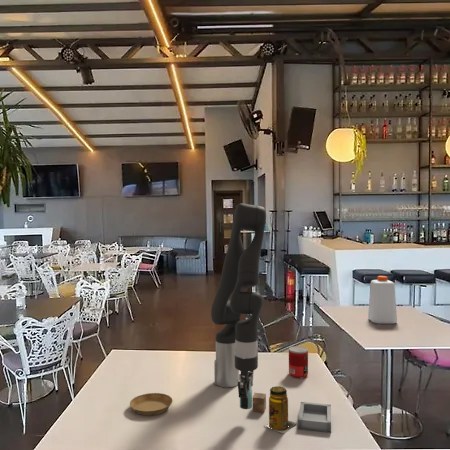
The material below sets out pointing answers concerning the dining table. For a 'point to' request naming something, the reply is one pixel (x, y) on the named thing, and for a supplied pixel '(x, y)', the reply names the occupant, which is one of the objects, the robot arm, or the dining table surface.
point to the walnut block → (259, 402)
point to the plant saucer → (151, 403)
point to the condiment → (279, 410)
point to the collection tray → (315, 417)
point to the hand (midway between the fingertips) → (245, 404)
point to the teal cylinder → (248, 399)
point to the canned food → (298, 362)
